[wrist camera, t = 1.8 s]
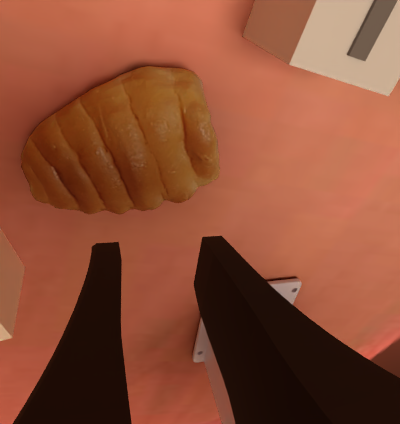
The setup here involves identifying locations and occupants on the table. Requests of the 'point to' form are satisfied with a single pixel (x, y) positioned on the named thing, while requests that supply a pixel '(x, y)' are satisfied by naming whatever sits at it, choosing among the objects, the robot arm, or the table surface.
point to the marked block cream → (9, 286)
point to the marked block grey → (332, 38)
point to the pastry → (125, 145)
